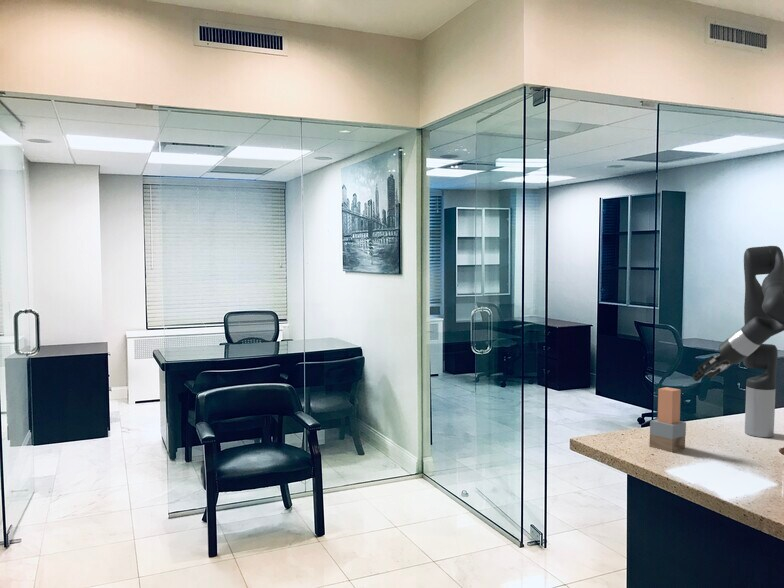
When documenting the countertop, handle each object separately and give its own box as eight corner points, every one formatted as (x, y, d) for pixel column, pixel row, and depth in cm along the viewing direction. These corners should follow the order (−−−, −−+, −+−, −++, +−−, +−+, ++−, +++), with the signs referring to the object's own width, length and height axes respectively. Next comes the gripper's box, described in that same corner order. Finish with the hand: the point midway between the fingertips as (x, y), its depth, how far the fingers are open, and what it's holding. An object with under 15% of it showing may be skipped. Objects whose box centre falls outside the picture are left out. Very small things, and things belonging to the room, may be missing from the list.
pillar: (665, 419, 213) (666, 387, 213) (679, 422, 209) (680, 389, 209) (657, 421, 210) (658, 388, 210) (671, 424, 206) (672, 391, 206)
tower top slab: (663, 430, 216) (663, 417, 216) (685, 435, 209) (686, 422, 209) (649, 433, 211) (650, 420, 211) (672, 439, 205) (672, 425, 204)
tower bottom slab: (662, 443, 216) (662, 430, 216) (684, 449, 209) (685, 435, 209) (649, 447, 211) (649, 434, 211) (671, 453, 205) (672, 439, 205)
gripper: (742, 334, 196) (704, 366, 206) (719, 337, 188) (681, 370, 198) (759, 353, 192) (720, 384, 202) (737, 357, 184) (697, 389, 194)
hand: (701, 377), depth 200 cm, fingers open, 8 cm apart
